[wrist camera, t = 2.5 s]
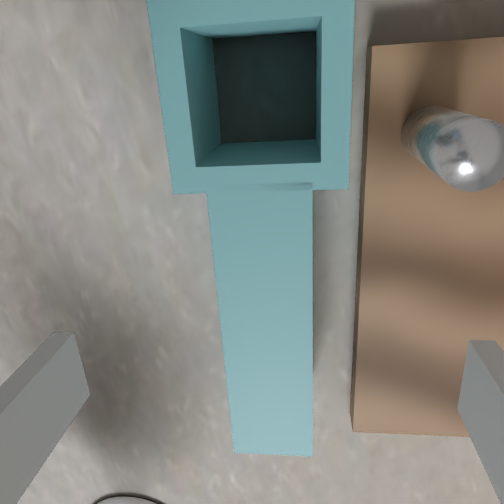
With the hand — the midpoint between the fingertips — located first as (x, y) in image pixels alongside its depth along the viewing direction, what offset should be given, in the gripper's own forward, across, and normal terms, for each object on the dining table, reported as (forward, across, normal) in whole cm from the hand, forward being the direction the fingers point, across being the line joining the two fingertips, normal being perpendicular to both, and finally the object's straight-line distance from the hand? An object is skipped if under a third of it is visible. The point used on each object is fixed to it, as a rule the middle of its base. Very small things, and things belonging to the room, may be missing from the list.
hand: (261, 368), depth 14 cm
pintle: (+9, +7, +7) cm, 13 cm away
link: (+9, 0, +2) cm, 10 cm away
